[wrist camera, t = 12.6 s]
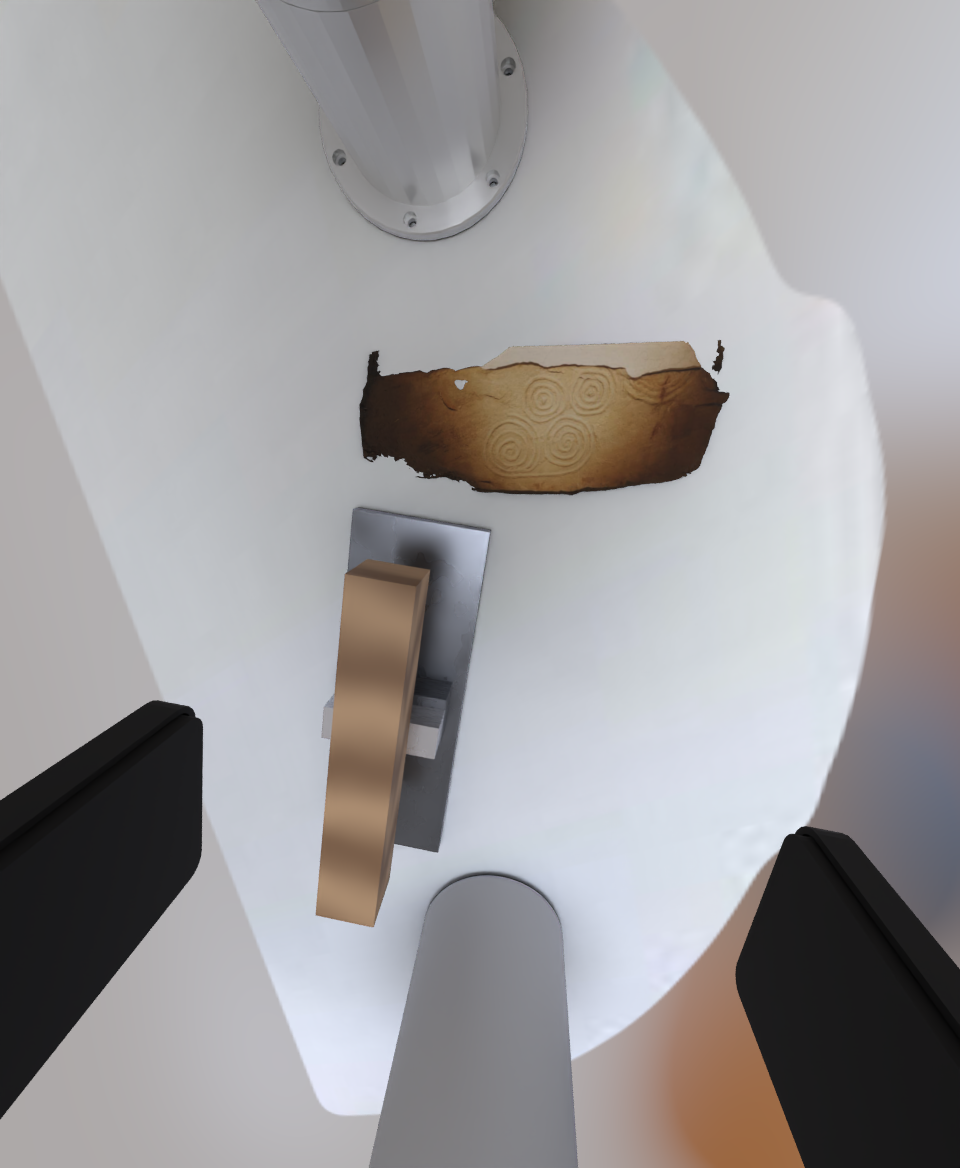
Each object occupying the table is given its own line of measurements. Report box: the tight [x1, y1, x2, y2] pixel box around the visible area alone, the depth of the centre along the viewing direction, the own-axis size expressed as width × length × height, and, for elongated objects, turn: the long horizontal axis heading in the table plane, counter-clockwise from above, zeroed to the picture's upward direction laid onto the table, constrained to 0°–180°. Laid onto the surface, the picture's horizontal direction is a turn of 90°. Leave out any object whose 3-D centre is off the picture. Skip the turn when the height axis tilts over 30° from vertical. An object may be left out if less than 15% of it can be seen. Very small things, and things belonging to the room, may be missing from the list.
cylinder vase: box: [369, 875, 578, 1168], centre depth 35 cm, size 12×12×25 cm
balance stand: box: [322, 507, 491, 853], centre depth 38 cm, size 28×10×7 cm, turn 171°
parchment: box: [360, 340, 729, 495], centre depth 35 cm, size 25×10×1 cm, turn 90°
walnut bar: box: [316, 559, 430, 927], centre depth 33 cm, size 24×4×4 cm, turn 171°
